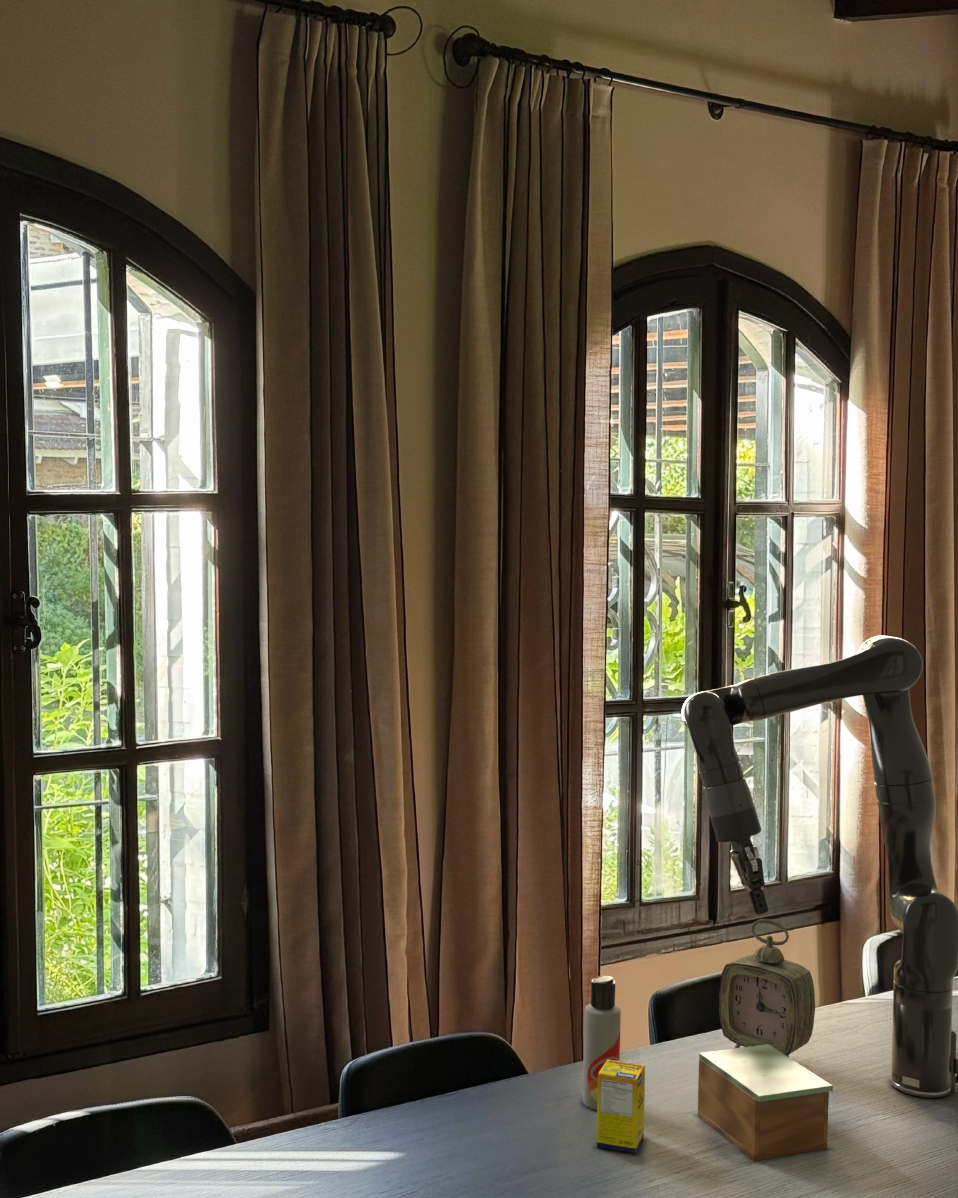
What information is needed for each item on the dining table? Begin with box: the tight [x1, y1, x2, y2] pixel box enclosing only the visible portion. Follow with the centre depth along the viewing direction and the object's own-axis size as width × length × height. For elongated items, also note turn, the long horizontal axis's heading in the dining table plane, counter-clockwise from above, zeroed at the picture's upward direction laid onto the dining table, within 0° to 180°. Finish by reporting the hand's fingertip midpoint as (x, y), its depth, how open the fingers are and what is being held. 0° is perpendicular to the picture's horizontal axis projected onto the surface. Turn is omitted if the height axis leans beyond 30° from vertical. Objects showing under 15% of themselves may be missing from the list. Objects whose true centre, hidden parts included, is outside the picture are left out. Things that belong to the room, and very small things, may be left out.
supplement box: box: [596, 1059, 646, 1155], centre depth 174 cm, size 6×6×11 cm
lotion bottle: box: [582, 975, 622, 1111], centre depth 187 cm, size 6×6×20 cm
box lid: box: [698, 1044, 834, 1102], centre depth 178 cm, size 16×13×1 cm
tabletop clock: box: [718, 918, 816, 1058], centre depth 205 cm, size 14×9×25 cm, turn 49°
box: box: [697, 1058, 830, 1161], centre depth 179 cm, size 16×13×9 cm
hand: (761, 913), depth 194 cm, fingers closed
